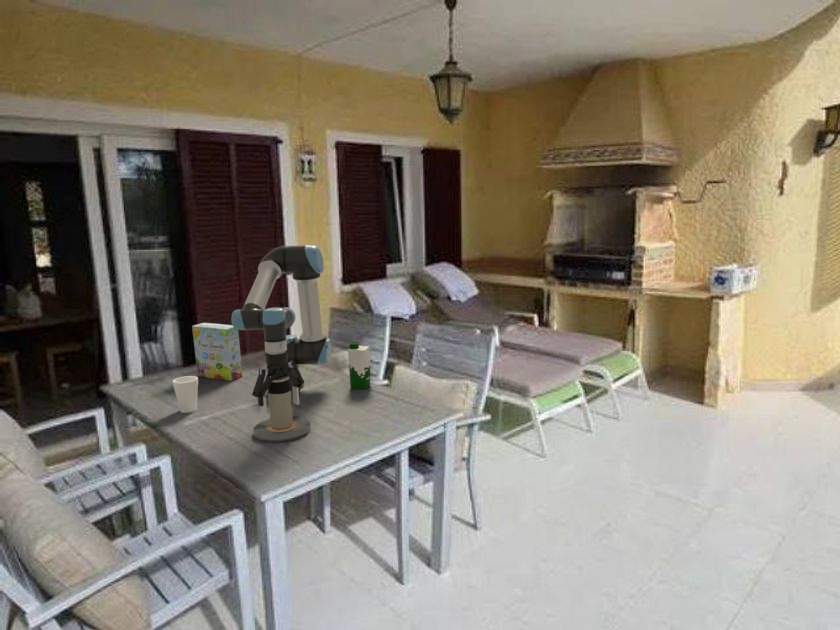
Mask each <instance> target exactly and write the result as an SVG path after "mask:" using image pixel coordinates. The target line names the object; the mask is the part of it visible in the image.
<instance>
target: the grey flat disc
mask: <svg viewBox="0 0 840 630" xmlns="http://www.w3.org/2000/svg"><path fill="white" fill-rule="evenodd" d="M252 431H253V438H255V440H257V441H259V442H262V443H268V444H281V443H287V442H292V441H295V440H299V439H301V438H303V437H305V436H306V435H308V434H309V433H310V431H311V423H310V420H308V419H306V418H305V417H300V416H295V415H293V425H292V426H290V427H288V428H285V429H275V428H272V427H271V424H270V418H268V419H264V420H263V421H260V422H259V423H257V424H256V425H255V426H254V427H253V430H252Z"/></svg>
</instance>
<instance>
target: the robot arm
mask: <svg viewBox="0 0 840 630" xmlns="http://www.w3.org/2000/svg"><path fill="white" fill-rule="evenodd" d="M323 258H324V257H323V253H322V251H321V250H320V248H319V247H318V246H316V245H308V244H305V245H281V246H277V247H276V248H273V249H272V250H270V251H269V252H268V253H267V254H266V255H264V257H262V259H261V260H260V262H259V264H258V266H257V272H258V273H257V275H256V278H255V279H254V282H253V284H252V287H251V289H250V291H249V293H248V296H247V297H246V300H245V303H244V304H243V307H242V309H241V308H240V309H235V310H233V312H232V314H231V319H230V320H231V325H233V327H234V328H235V329H237V330H238V331H239V330H240V331H255V330H256V331H263V336H264V351H265V363H266V368H261V367H260V368H259V369H258V376H257V379H256V381H255V384H254V387H253V391H252V394H251V395H252V396H253V397H255V398H257V404H258V406H259V407H260V414H261V415H263V416H267V415H268V411H267V410H268V409H267V398H266V396H265V395H266V394H267V392H268V388H269V386H270V384H271V382H272V381H273V380H274V379H275V378H279V377H284V375H285V376H289V380H288V382H289V384H290V386H291V392H292V402H293V403H292V404H295V405H300V396H299V395H301V388H303V387H304V386H305V385H304V384H305V379H304V378H303V377H302V374H301V372H300V368H299V365H301V366H302V365H303V366H304V365H305V366H310V365H311V366H312V365H313V366H315V365H316V366H319V365H326V364H328V362H329V360H330V357H331V350H332V340H331V338H329V337H327V334H326V332H325V331H323V325H322V316H321V315H322V314H321V305H320V296H319V293H320V292H319V286H318V285H319V284H318V280H319V278H321V274H322V273H323V272H324V268H325V267H324V264H325V263H324V259H323ZM283 274H288V275H289V274H290V275H291V274H292V279H293V280H294V281H295V282H296V286H297V295H298V303H299V305H298V306H299V313H300V322H301V328H302V333H301V335H299V338H298V337H297V335H295V334H288V335H287V330H288V329H289V328H291V327H292V326H293V325H294V323H295V321H296V313H295V312H294V310H293V309H292V308H291V307H286V306H285V307H268V308H266V307H267V304H268V301H269V299H270V296H271V293H272V291H273V289H274V286H275V284H276V282H277V280H278V279H279V278H280V277H281V276H282V275H283Z"/></svg>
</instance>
